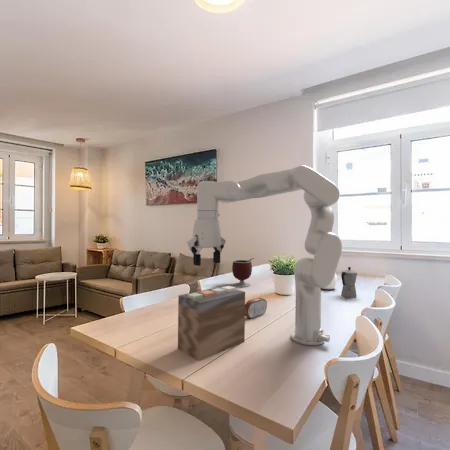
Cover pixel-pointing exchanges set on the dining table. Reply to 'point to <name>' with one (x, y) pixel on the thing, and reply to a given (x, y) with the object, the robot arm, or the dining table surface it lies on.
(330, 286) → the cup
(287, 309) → the dining table surface
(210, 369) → the dining table surface
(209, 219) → the robot arm
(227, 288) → the cream key
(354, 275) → the coffeepot
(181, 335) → the console
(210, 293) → the terracotta key
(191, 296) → the sage key
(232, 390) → the dining table surface
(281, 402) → the dining table surface
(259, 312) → the tin
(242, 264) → the mate gourd
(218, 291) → the grey key
